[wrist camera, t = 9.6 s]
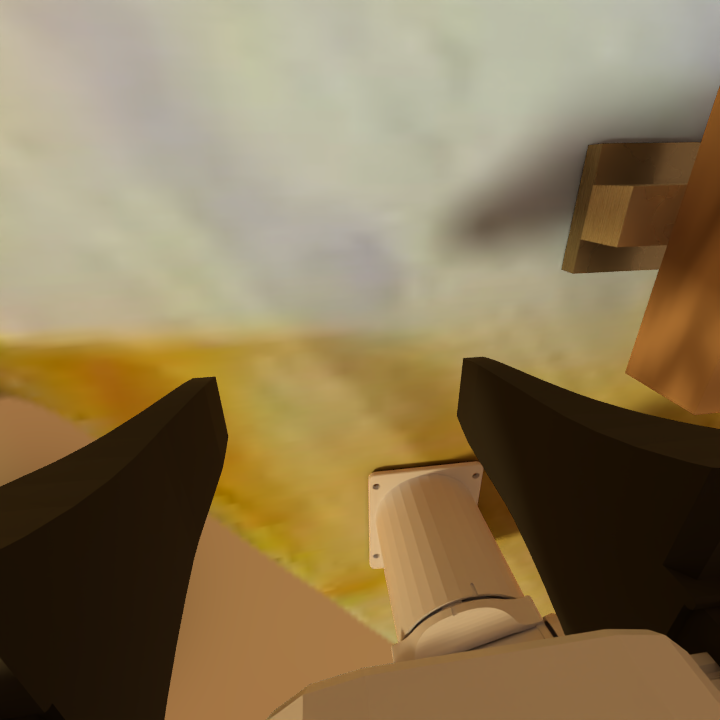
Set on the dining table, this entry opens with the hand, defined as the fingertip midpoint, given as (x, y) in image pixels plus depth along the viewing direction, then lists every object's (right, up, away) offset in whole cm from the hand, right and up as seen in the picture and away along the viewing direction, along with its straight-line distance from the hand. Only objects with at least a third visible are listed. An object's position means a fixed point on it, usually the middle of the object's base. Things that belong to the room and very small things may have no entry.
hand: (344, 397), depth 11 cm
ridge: (+16, +9, +9) cm, 20 cm away
